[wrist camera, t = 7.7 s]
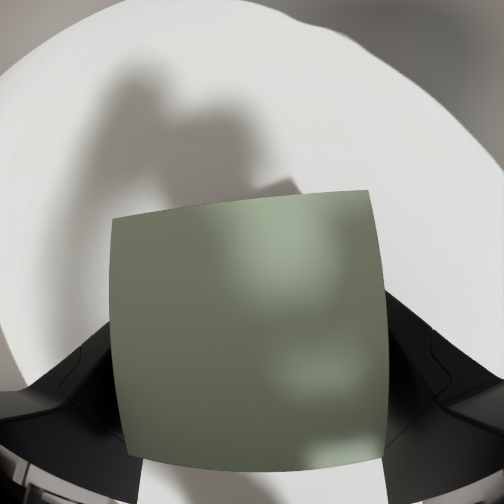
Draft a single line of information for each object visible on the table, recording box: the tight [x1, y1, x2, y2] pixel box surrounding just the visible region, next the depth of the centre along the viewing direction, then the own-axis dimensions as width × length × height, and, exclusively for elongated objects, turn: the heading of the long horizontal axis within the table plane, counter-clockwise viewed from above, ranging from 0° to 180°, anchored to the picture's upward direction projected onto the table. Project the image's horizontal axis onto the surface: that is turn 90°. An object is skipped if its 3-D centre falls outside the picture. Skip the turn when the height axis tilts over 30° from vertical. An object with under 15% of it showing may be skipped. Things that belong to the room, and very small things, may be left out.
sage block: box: [109, 190, 389, 472], centre depth 10 cm, size 6×6×10 cm
